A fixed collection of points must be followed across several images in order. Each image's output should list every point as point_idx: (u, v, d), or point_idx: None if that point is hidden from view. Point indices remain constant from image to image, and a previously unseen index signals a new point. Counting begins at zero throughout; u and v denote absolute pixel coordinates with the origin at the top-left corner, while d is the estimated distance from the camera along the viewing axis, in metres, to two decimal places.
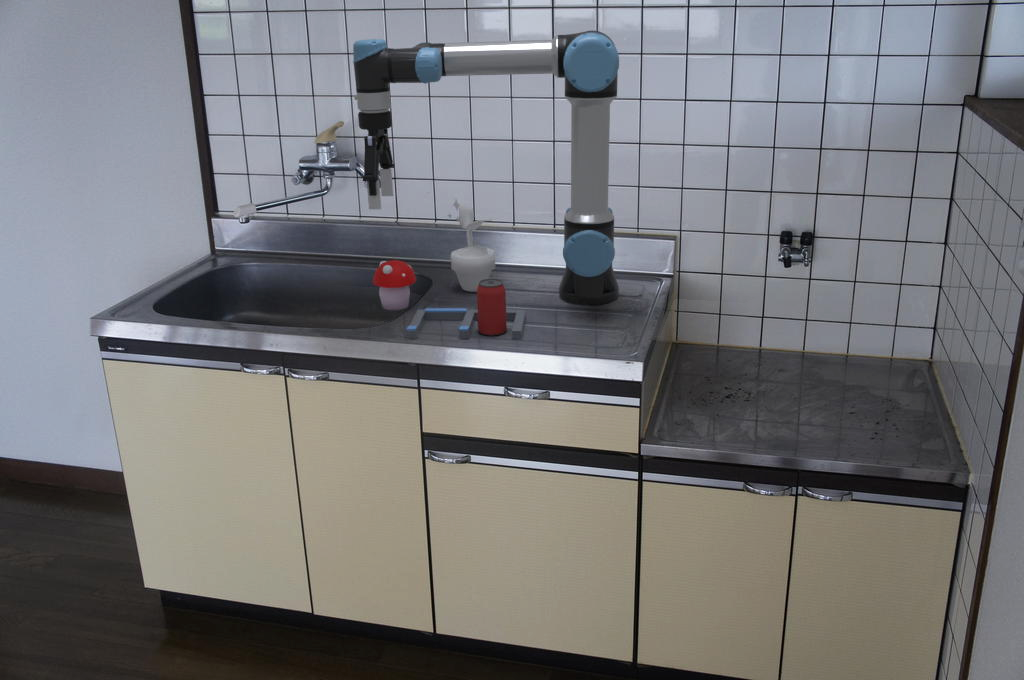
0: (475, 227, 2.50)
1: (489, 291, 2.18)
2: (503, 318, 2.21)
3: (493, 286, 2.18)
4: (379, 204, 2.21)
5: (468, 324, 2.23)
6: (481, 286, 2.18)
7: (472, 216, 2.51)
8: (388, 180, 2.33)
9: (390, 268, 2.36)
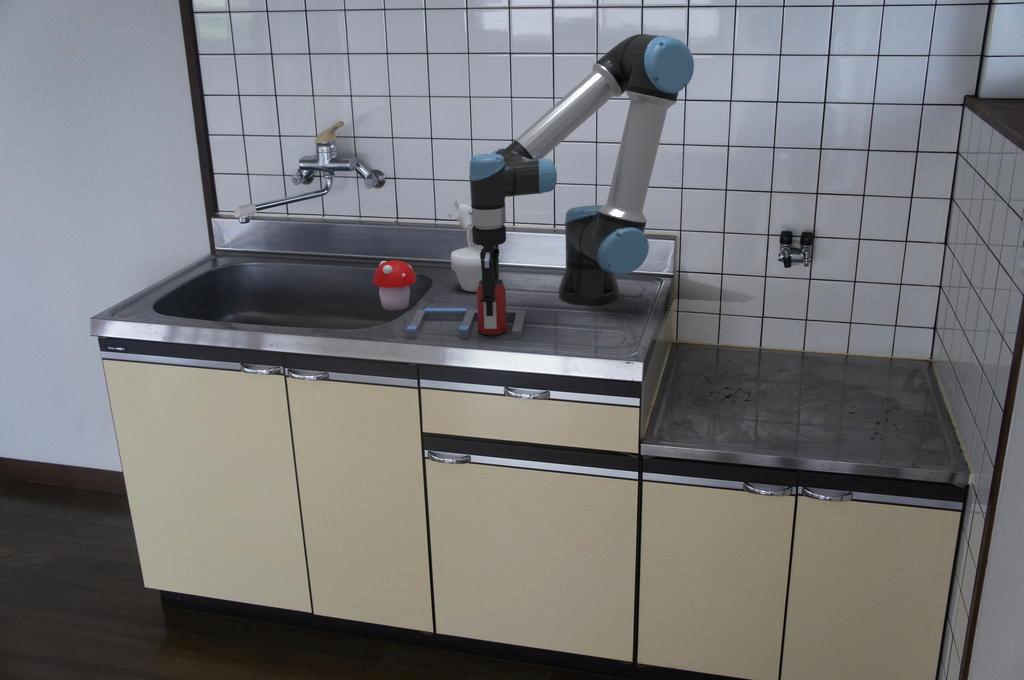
0: None
1: None
2: (503, 318, 2.21)
3: None
4: (495, 324, 2.19)
5: (468, 324, 2.23)
6: (481, 286, 2.18)
7: None
8: None
9: (390, 268, 2.36)
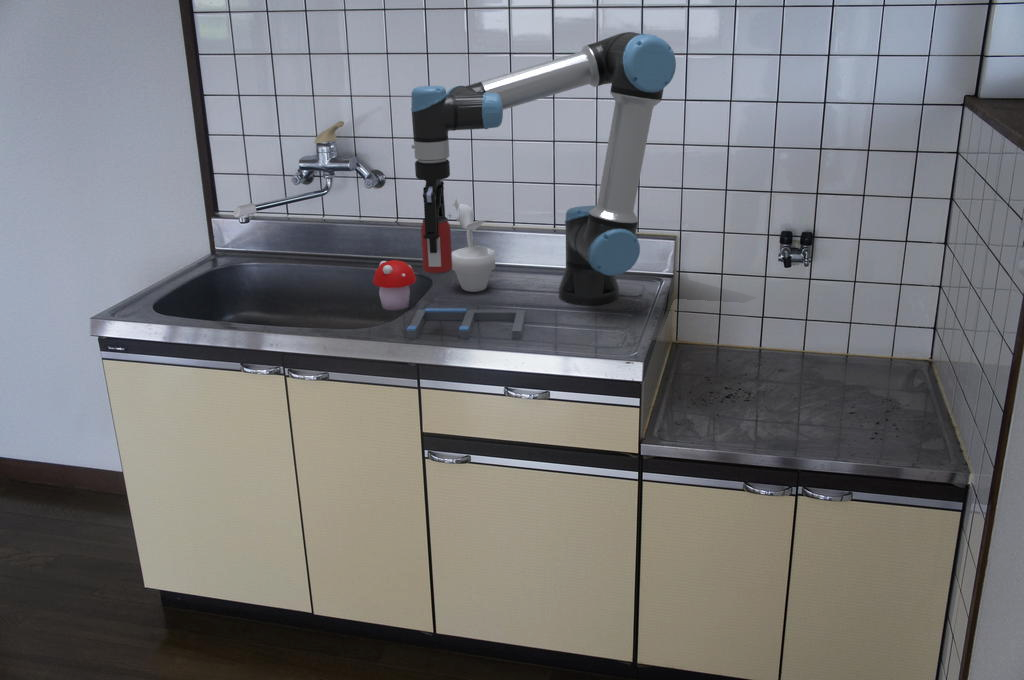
0: (475, 227, 2.50)
1: None
2: (448, 256, 2.17)
3: None
4: (439, 261, 2.15)
5: (468, 324, 2.23)
6: None
7: (472, 216, 2.51)
8: None
9: (390, 268, 2.36)
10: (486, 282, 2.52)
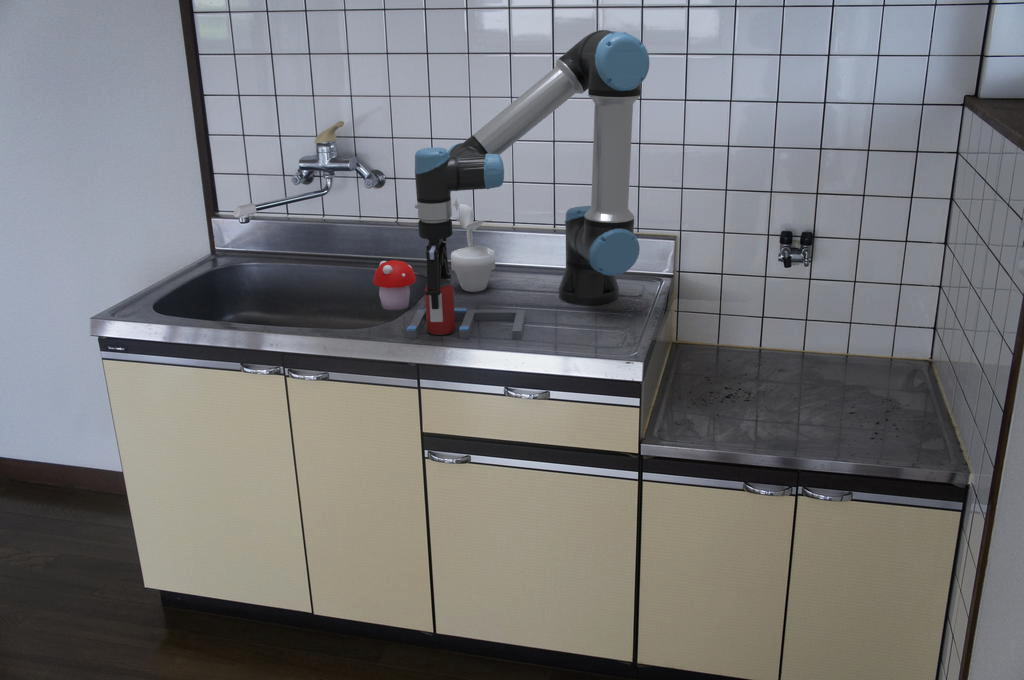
0: (475, 227, 2.50)
1: None
2: (451, 318, 2.22)
3: (440, 286, 2.19)
4: (441, 317, 2.18)
5: (468, 324, 2.23)
6: None
7: (472, 216, 2.51)
8: None
9: (390, 268, 2.36)
10: (486, 282, 2.52)
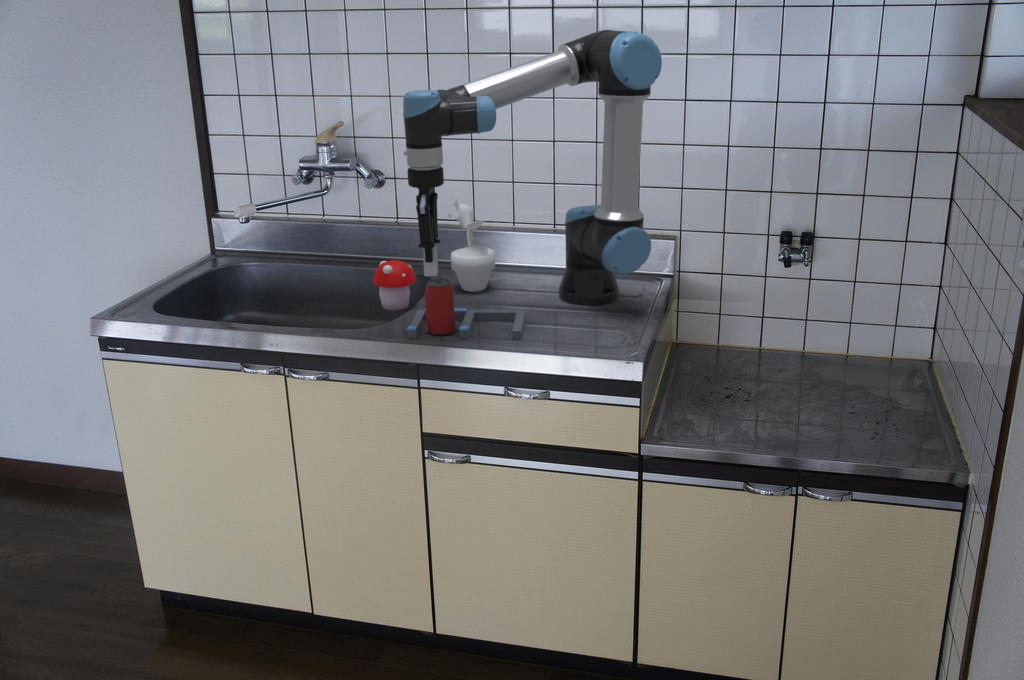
0: (475, 227, 2.50)
1: (436, 291, 2.19)
2: (451, 318, 2.22)
3: (440, 286, 2.19)
4: (435, 271, 2.10)
5: (468, 324, 2.23)
6: (428, 286, 2.19)
7: (472, 216, 2.51)
8: None
9: (390, 268, 2.36)
10: (486, 282, 2.52)
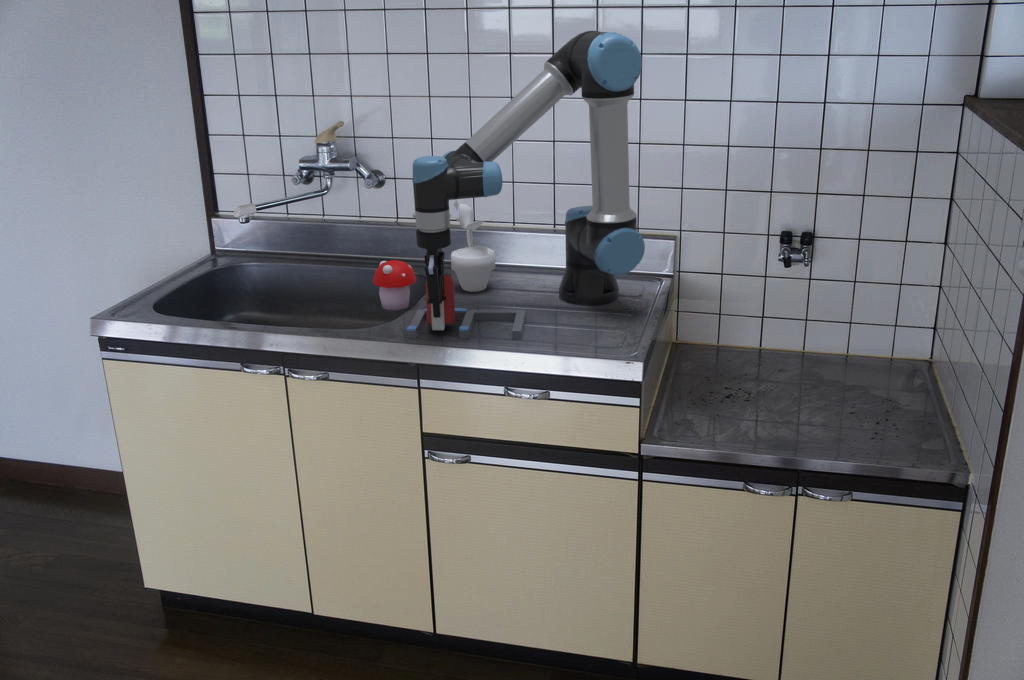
0: (475, 227, 2.50)
1: None
2: (451, 308, 2.23)
3: None
4: (443, 325, 2.20)
5: (468, 324, 2.23)
6: None
7: (472, 216, 2.51)
8: None
9: (390, 268, 2.36)
10: (486, 282, 2.52)
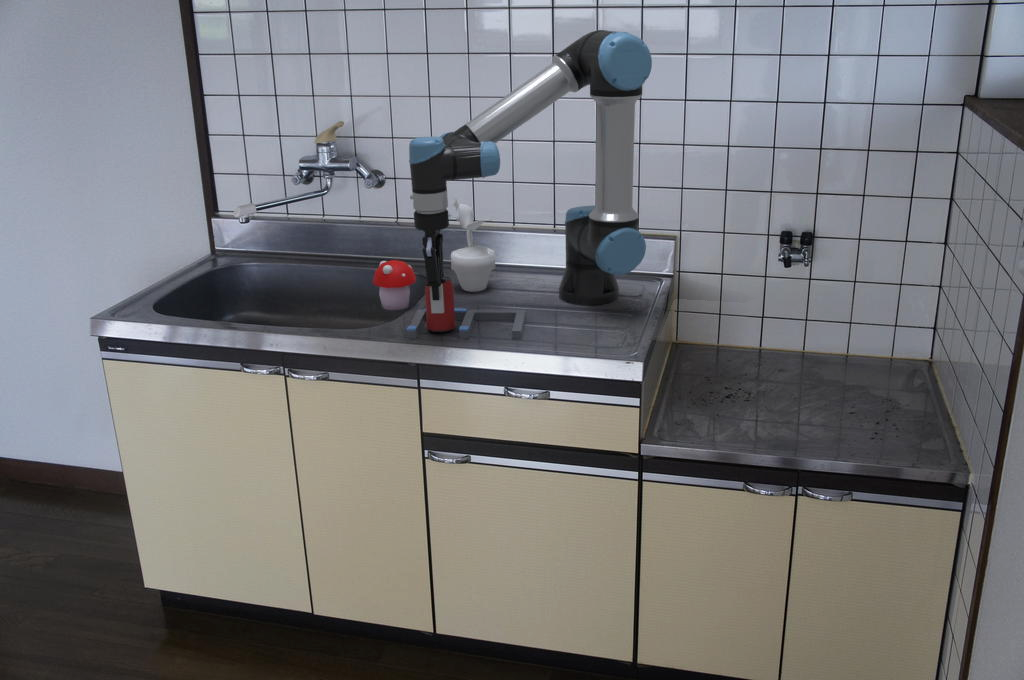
0: (475, 227, 2.50)
1: None
2: (451, 314, 2.23)
3: None
4: (442, 308, 2.18)
5: (468, 324, 2.23)
6: None
7: (472, 216, 2.51)
8: None
9: (390, 268, 2.36)
10: (486, 282, 2.52)
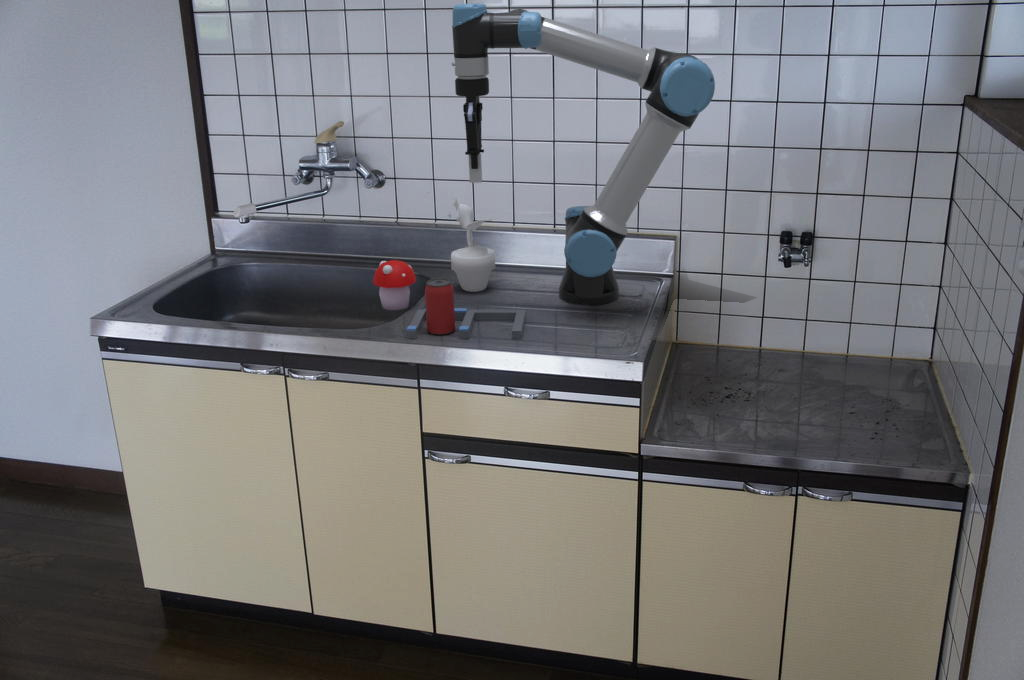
0: (475, 227, 2.50)
1: (436, 291, 2.19)
2: (451, 317, 2.22)
3: (440, 286, 2.19)
4: (480, 177, 2.23)
5: (468, 324, 2.23)
6: (428, 286, 2.20)
7: (472, 216, 2.51)
8: None
9: (390, 268, 2.36)
10: (486, 282, 2.52)
